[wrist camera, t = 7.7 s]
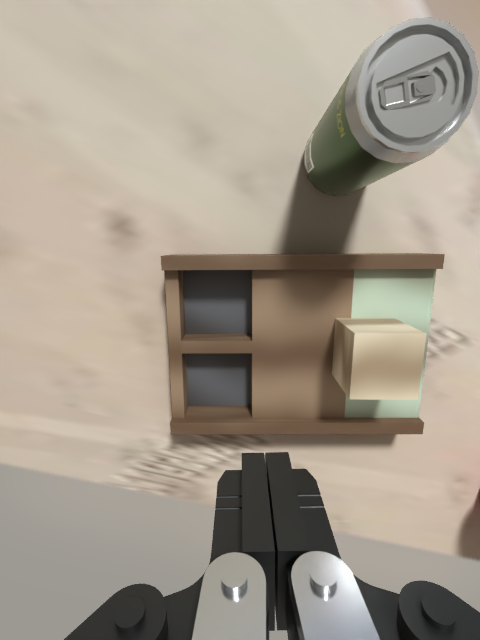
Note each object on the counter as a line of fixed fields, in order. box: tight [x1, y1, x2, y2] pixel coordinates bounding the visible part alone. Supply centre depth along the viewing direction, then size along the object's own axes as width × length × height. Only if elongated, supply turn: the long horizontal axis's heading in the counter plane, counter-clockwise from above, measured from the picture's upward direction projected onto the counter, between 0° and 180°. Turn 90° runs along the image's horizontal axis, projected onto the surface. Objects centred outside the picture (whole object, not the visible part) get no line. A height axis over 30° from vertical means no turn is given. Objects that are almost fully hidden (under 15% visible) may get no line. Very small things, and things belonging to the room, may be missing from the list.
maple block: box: [332, 318, 426, 400], centre depth 24 cm, size 4×4×4 cm
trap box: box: [161, 253, 444, 434], centre depth 27 cm, size 14×20×3 cm
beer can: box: [304, 17, 478, 196], centre depth 20 cm, size 5×5×12 cm
